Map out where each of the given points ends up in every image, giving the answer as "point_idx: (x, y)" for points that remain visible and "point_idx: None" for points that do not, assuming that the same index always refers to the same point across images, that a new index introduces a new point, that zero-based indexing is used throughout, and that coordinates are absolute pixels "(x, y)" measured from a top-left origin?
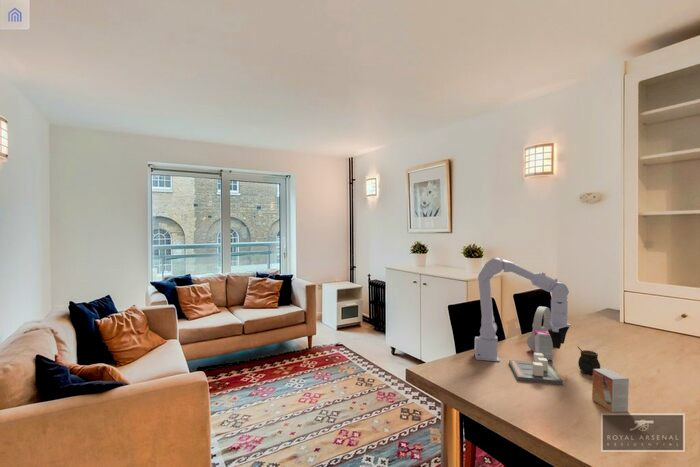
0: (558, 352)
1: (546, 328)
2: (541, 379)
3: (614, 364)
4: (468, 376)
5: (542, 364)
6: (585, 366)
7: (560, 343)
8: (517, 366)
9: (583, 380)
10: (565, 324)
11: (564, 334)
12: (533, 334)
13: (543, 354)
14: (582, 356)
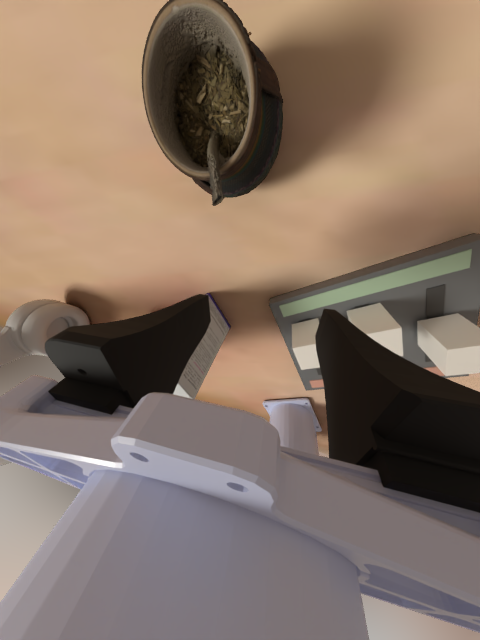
0: (117, 282)
1: (35, 346)
2: (475, 314)
3: (23, 25)
4: None
5: (477, 345)
6: (278, 145)
7: (358, 329)
8: None
9: (367, 150)
10: (295, 543)
11: (172, 324)
12: None
13: (217, 325)
14: (242, 163)
